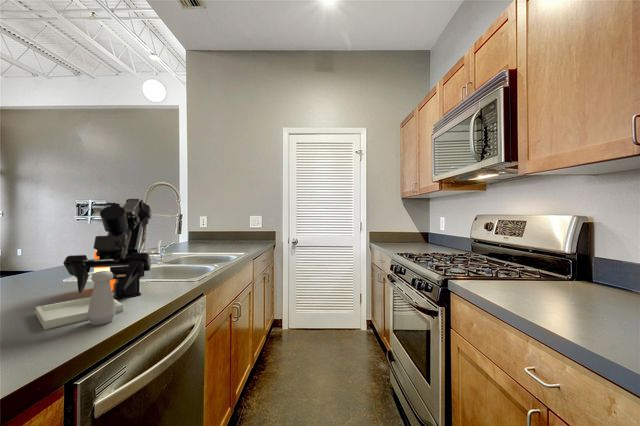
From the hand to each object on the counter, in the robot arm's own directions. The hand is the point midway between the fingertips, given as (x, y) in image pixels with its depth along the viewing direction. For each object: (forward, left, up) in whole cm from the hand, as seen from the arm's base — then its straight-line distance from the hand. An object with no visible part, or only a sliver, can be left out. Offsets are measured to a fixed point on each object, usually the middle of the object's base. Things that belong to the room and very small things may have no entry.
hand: (102, 290), depth 71 cm
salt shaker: (0, 0, -8) cm, 8 cm away
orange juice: (-11, -38, -8) cm, 40 cm away
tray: (+2, -13, -8) cm, 16 cm away
